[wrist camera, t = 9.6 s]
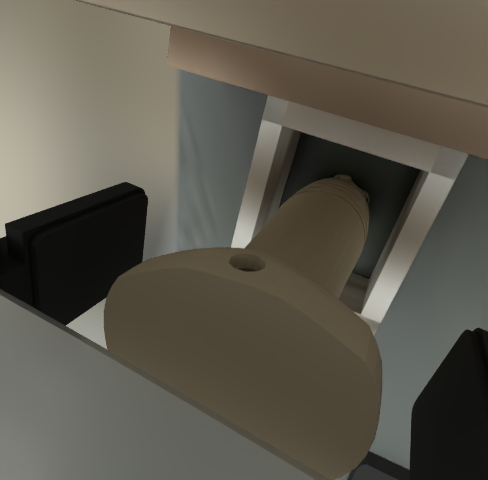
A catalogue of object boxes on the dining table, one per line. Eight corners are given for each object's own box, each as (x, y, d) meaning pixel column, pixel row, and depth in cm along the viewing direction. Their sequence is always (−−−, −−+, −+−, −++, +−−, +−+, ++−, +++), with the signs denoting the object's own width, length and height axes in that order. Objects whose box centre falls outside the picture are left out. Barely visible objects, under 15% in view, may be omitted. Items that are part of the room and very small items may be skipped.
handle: (387, 253, 21) (347, 515, 8) (280, 226, 23) (109, 399, 10) (412, 169, 19) (411, 336, 6) (292, 148, 21) (97, 238, 8)
